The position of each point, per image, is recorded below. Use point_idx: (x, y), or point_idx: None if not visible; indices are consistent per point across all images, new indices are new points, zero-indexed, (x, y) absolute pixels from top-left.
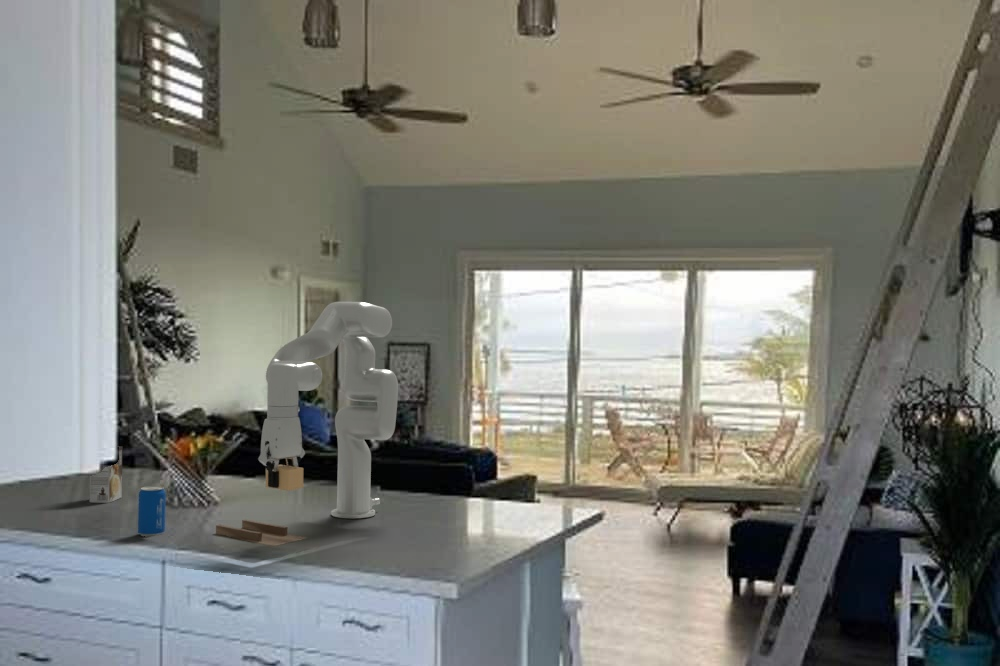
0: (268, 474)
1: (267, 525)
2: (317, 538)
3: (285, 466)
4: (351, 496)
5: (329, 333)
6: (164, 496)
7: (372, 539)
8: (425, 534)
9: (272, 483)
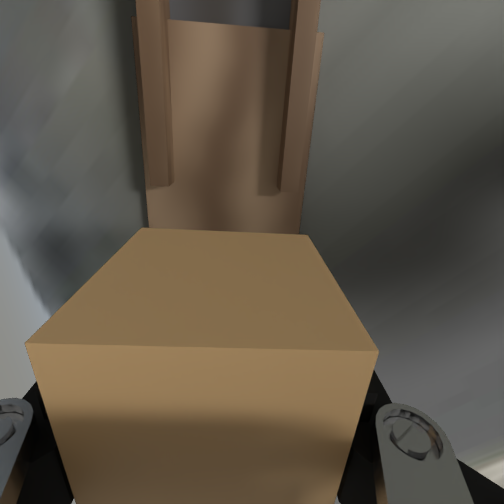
0: (33, 387)
1: (289, 90)
2: (344, 251)
3: (269, 480)
4: None
5: None
6: None
7: (397, 358)
8: (493, 405)
9: None
